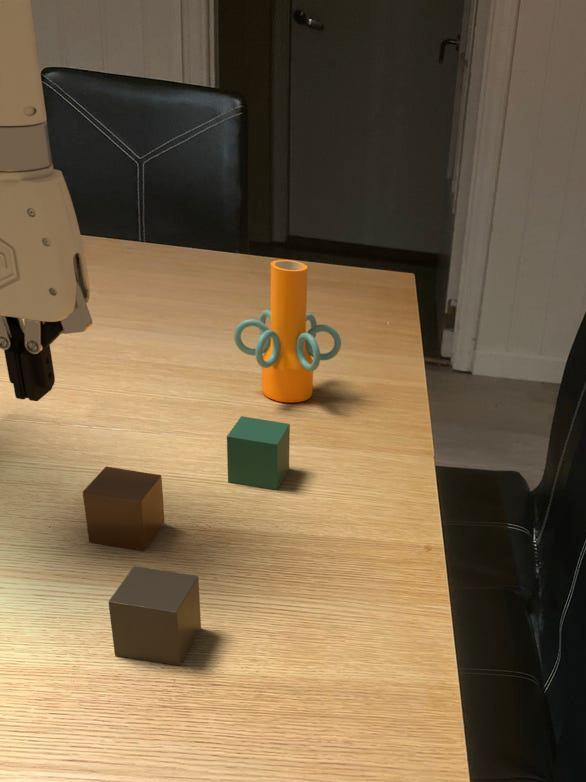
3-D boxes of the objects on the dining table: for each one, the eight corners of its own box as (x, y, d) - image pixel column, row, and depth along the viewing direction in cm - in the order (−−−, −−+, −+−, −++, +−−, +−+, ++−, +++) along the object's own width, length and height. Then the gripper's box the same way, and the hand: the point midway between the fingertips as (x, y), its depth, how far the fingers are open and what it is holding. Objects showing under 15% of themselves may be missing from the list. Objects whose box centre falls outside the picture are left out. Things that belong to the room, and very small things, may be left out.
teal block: (277, 490, 94) (277, 444, 91) (227, 482, 94) (226, 436, 91) (289, 468, 98) (289, 423, 95) (241, 460, 98) (241, 415, 95)
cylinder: (336, 379, 119) (341, 256, 110) (340, 414, 111) (347, 284, 102) (236, 373, 116) (234, 246, 107) (233, 408, 108) (230, 274, 99)
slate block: (180, 666, 71) (176, 612, 68) (114, 655, 71) (108, 601, 68) (201, 627, 75) (198, 575, 72) (139, 618, 75) (133, 565, 72)
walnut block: (145, 551, 82) (140, 501, 79) (88, 542, 82) (82, 491, 79) (165, 523, 86) (161, 474, 84) (111, 515, 86) (105, 466, 83)
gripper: (-146, 138, 63) (-82, 398, 74) (75, 171, 63) (107, 425, 74) (-83, 123, 69) (-32, 365, 80) (118, 152, 69) (142, 390, 80)
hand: (34, 393), depth 77 cm, fingers closed
